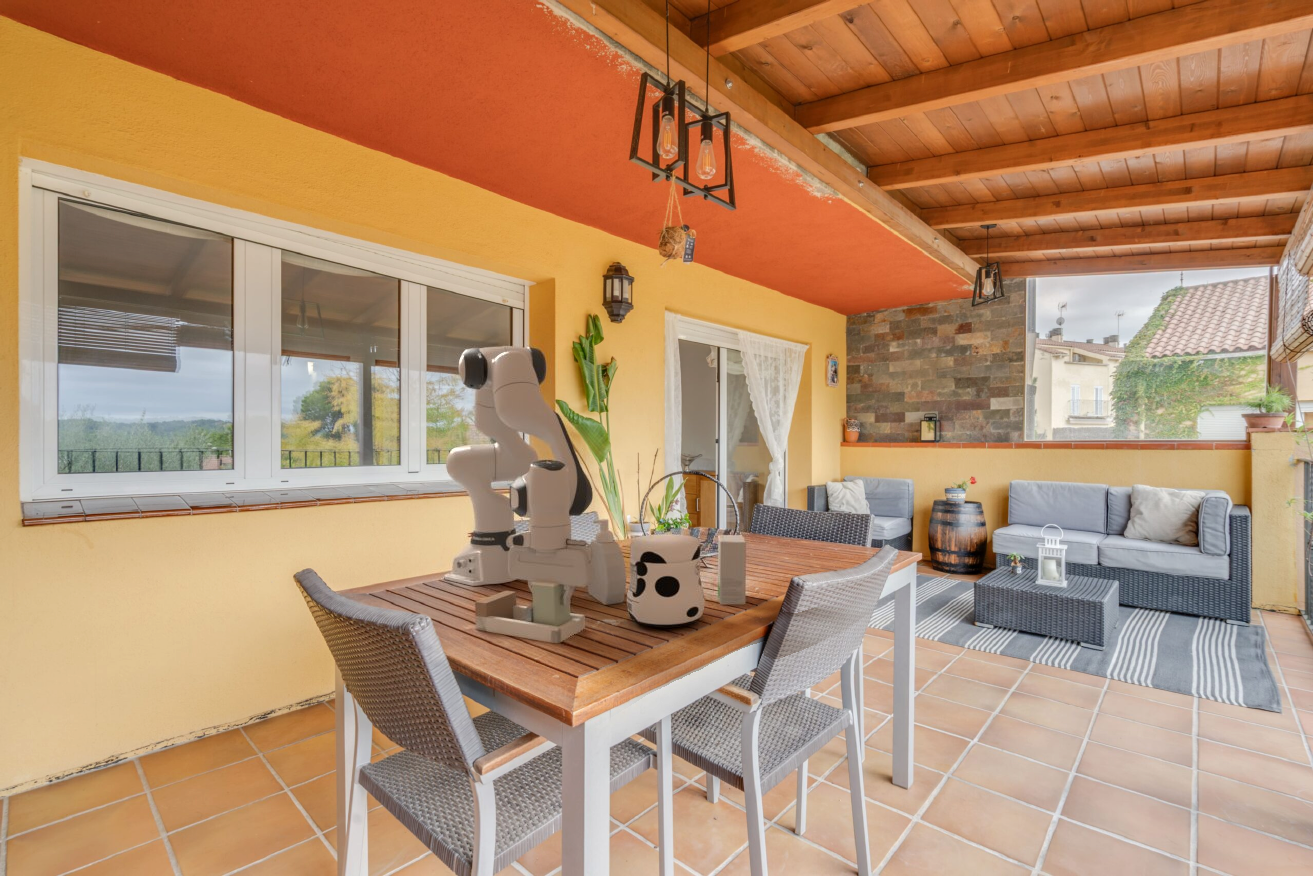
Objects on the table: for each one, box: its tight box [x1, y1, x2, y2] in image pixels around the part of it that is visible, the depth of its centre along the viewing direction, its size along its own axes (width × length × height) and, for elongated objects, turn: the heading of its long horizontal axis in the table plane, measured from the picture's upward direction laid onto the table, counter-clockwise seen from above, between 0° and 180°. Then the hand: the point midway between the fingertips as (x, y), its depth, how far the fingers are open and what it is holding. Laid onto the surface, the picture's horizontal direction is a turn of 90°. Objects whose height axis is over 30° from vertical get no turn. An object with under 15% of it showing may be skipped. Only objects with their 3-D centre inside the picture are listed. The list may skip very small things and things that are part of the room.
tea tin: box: [531, 581, 571, 627], centre depth 129 cm, size 6×6×9 cm
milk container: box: [626, 533, 706, 629], centre depth 136 cm, size 17×17×18 cm
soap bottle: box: [586, 518, 627, 606], centre depth 155 cm, size 16×5×20 cm, turn 26°
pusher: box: [520, 604, 533, 623], centre depth 131 cm, size 4×7×6 cm, turn 153°
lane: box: [474, 590, 586, 645], centre depth 132 cm, size 22×10×6 cm, turn 63°
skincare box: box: [717, 534, 747, 606], centre depth 151 cm, size 8×7×16 cm
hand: (551, 603), depth 129 cm, fingers open, 6 cm apart
